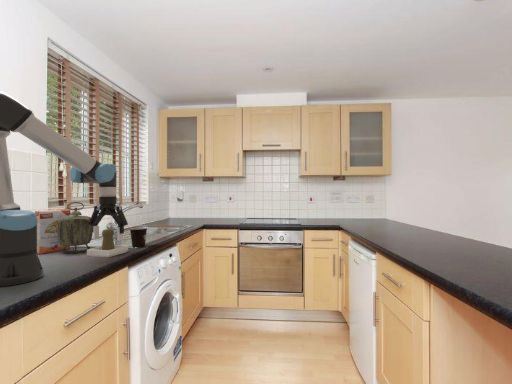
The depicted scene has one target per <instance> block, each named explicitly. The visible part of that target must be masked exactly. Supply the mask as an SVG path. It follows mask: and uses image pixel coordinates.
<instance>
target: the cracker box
mask: <svg viewBox="0 0 512 384" xmlns="http://www.w3.org/2000/svg"><path fill="white" fill-rule="evenodd" d="M71 212H72V210H70V209H47V210H34V213H35V214H36V216H37V221H38V223H37V255H42V254H47V253H48V254H49V253H55V252H62V249H64V247H65V246H62V245H60V244H59V241H58V235H57V230H58V223H59V221H60V219H62V218H64V217H68V216H70V214H71ZM68 250H71V246H67V247H66V251H68Z"/></svg>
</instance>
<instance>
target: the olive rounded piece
mask: <svg viewBox="0 0 512 384" xmlns="http://www.w3.org/2000/svg"><path fill="white" fill-rule="evenodd" d="M101 235H102V244H101V246H102V249H101V250H112V249H115V247H114V245H115V242H114V235H115V231H114V229H111V228H109V229H103V230H102V231H101Z"/></svg>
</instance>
